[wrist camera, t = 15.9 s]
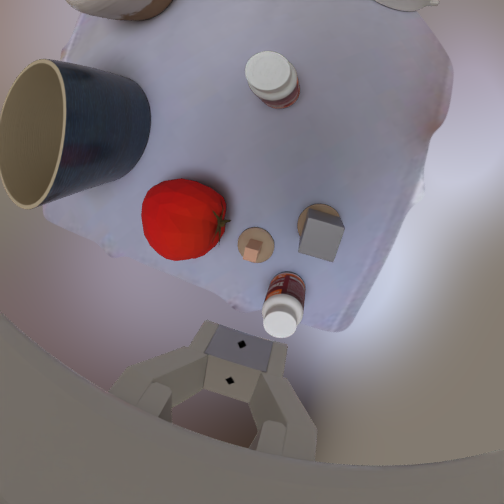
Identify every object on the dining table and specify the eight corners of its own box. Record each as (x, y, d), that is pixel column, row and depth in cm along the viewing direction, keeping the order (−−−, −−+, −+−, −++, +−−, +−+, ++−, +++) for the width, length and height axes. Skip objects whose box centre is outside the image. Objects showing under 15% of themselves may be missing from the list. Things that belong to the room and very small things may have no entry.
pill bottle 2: (281, 264, 45) (272, 298, 35) (312, 283, 45) (311, 320, 35) (263, 291, 48) (250, 328, 38) (292, 308, 48) (286, 348, 38)
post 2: (304, 198, 40) (303, 206, 35) (347, 211, 40) (353, 222, 34) (292, 240, 43) (289, 254, 37) (333, 252, 42) (337, 268, 37)
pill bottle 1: (308, 91, 34) (307, 70, 24) (278, 117, 37) (267, 105, 26) (279, 65, 33) (267, 37, 23) (250, 90, 36) (229, 71, 26)
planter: (169, 81, 37) (87, 55, 19) (136, 198, 46) (55, 231, 28) (87, 72, 38) (12, 63, 20) (65, 168, 47) (-7, 187, 29)
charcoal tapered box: (308, 207, 40) (308, 217, 34) (340, 217, 39) (344, 228, 34) (299, 238, 42) (298, 252, 36) (330, 247, 41) (333, 262, 36)
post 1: (242, 223, 44) (235, 231, 40) (278, 232, 43) (274, 242, 39) (235, 255, 46) (227, 266, 42) (269, 265, 46) (265, 277, 42)
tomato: (169, 211, 49) (237, 221, 48) (141, 268, 42) (217, 284, 41) (152, 157, 39) (234, 163, 37) (111, 217, 32) (205, 232, 30)
